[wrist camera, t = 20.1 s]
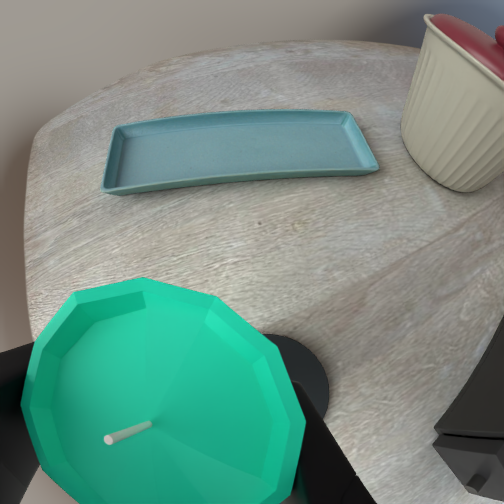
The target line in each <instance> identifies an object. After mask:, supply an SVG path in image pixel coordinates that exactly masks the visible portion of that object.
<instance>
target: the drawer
mask: <svg viewBox="0 0 504 504" xmlns="http://www.w3.org/2000/svg"><path fill="white" fill-rule="evenodd" d="M461 436H462V437H455V436H447V435H440V436H439V437H438V438H437V440H436V441H435V442H434V443H433V444H432V446H433V447H434V448H435V449H436V451H437V452H438V453H439V455H440V456H441V457H442V458H443V460H444V461H445V462H446V464H447V465H448V466H449V467H450V469H451V470H452V471H453V473H454V474H455V475H456V477H457V478H458V479H459V480H460V482H461V483H462V484H463V486H464V487H465V489H466V490H467V491H468V492H469V493H472V494H475V495H479V496H483V497H487V498H491V499H495V500H499V501H504V438H494V437H477V436H465V435H461Z"/></svg>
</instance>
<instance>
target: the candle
mask: <svg viewBox="0 0 504 504" xmlns="http://www.w3.org/2000/svg"><path fill="white" fill-rule="evenodd" d="M21 408H22V412H23V415H24V419H25V422H26V426H27V429H28V432H29V435H30V438H31V441H32V444H33V447H34V450H35V452H36V455H37V458H38V460H39V463H40V465H41V468H42V470H43V471H44V472H45V473H46V474H47V475H48V476H49V477H50V478H51V479H52V480H53V481H54V482H55V483H56V484H58V485H59V486H60V487H61V488H62V489H63V490H64V491H66V493H67V494H69V495H70V496H71V497H72V498H73V499H75V500H76V501H77V502H78V503H79V504H280V503H281V502H282V501H283V500H285V499H286V498H287V497H288V496H290V494H291V490H292V486H293V482H294V478H295V473H296V469H297V464H298V460H299V455H300V450H301V445H302V440H303V435H304V430H305V424H306V420H305V417H304V415H303V412H302V409H301V407H300V404H299V402H298V399H297V396H296V394H295V391H294V389H293V386H292V383H291V381H290V378H289V376H288V373H287V370H286V368H285V365H284V362H283V360H282V357H281V355H280V352H279V349H278V347H277V346H276V345H275V344H273V343H272V342H271V341H270V340H268V339H267V338H266V337H265V336H264V335H262V334H261V333H260V332H259V331H257V330H256V329H255V328H254V327H252V326H251V325H250V324H249V323H248V322H246V321H245V320H244V319H243V318H242V317H240V316H239V315H238V314H237V313H236V312H234V311H233V310H232V309H231V308H230V307H228V306H227V305H226V304H225V303H224V302H223V301H221V300H220V299H219V298H218V297H217V296H213V295H209V294H205V293H201V292H197V291H193V290H189V289H185V288H182V287H178V286H174V285H170V284H166V283H163V282H159V281H155V280H152V279H148V278H144V277H141V278H137V279H132V280H127V281H123V282H118V283H114V284H109V285H104V286H100V287H95V288H91V289H86V290H81V291H77V292H73V293H72V294H71V296H70V297H69V298H68V299H67V301H66V302H65V303H64V304H63V305H62V307H61V308H60V309H59V310H58V312H57V313H56V314H55V316H54V317H53V318H52V319H51V321H50V322H49V323H48V325H47V326H46V327H45V329H44V330H43V331H42V333H41V334H40V335H39V337H38V338H37V339H36V341H35V343H34V346H33V350H32V354H31V357H30V361H29V366H28V370H27V374H26V379H25V383H24V388H23V394H22V399H21Z"/></svg>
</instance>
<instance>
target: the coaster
mask: <svg viewBox="0 0 504 504" xmlns="http://www.w3.org/2000/svg"><path fill="white" fill-rule="evenodd" d="M262 335H264V336H265V337H266V338H267V339H268V340H270V341H271V342H272V343H273V344H275V345H276V346H277V347H278V349H279V352H280V355H281V357H282V360H283V362H284V365H285V368H286V370H287V373H288V376H289V378H290V381H296V382H300V383H301V384H302V386H303V388H304V389H305V391H306V393H307V394H308V396H309V398H310V399H311V401H312V403H313V404H314V406H315V408H316V409H317V411H318V413H319V414H320V416H321V418H322V419H323V418H324V416H325V413H326V410H327V407H328V402H329V384H328V380H327V376H326V373H325V371H324V369H323V367H322V365H321V363H320V362H319V360H318V359H317V357H316V356H315V355H314V354H313V353H312V352H311V351H310V350H309V349H307V348H306V347H305V346H304V345H302V344H300V343H299V342H297V341H295V340H293V339H290V338H287V337H284V336H279V335H273V334H262Z"/></svg>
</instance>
